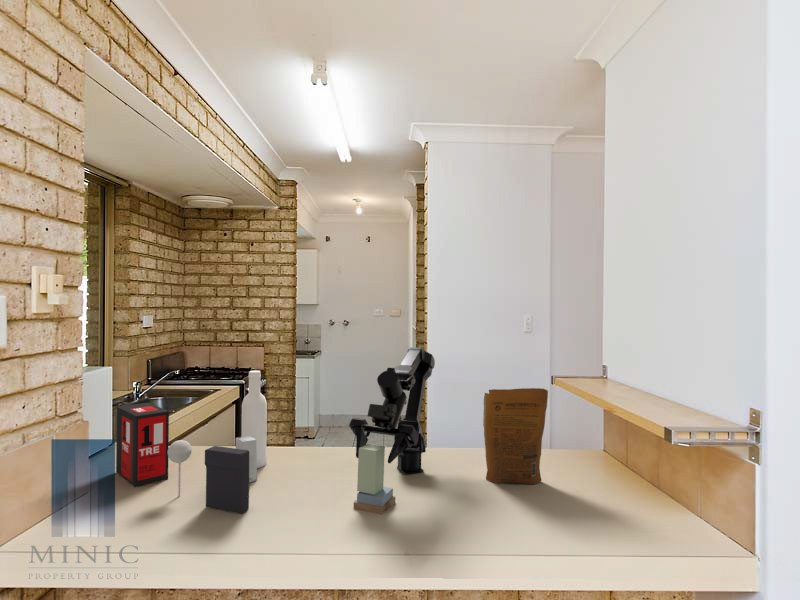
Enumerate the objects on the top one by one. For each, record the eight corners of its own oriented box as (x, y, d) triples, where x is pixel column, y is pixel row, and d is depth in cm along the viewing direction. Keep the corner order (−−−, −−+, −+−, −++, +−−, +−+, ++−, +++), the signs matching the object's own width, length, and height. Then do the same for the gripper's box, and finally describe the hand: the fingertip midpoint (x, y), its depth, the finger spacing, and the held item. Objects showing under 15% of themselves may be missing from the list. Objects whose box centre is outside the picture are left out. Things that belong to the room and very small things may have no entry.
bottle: (271, 462, 160) (272, 370, 160) (258, 470, 153) (259, 373, 153) (249, 459, 162) (250, 369, 162) (235, 467, 155) (236, 372, 155)
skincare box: (257, 480, 144) (258, 439, 144) (242, 484, 141) (243, 441, 141) (249, 474, 149) (249, 434, 149) (234, 477, 146) (235, 437, 146)
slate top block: (368, 492, 132) (368, 484, 132) (392, 496, 130) (392, 488, 130) (357, 502, 126) (357, 493, 126) (382, 506, 123) (382, 497, 123)
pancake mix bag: (549, 487, 141) (551, 390, 141) (483, 485, 142) (484, 388, 142) (544, 479, 148) (545, 386, 148) (480, 476, 149) (481, 384, 149)
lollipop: (196, 494, 133) (197, 439, 133) (178, 502, 128) (179, 444, 128) (180, 490, 136) (180, 436, 136) (161, 498, 130) (162, 441, 130)
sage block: (366, 485, 131) (368, 443, 132) (383, 488, 129) (384, 446, 129) (357, 491, 127) (358, 448, 127) (374, 494, 124) (376, 450, 125)
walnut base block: (368, 499, 133) (368, 491, 133) (395, 504, 130) (395, 496, 130) (353, 510, 126) (353, 502, 126) (381, 516, 122) (381, 507, 122)
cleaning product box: (116, 472, 149) (116, 406, 149) (147, 465, 156) (147, 402, 156) (135, 487, 138) (136, 416, 138) (168, 479, 144) (168, 411, 144)
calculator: (250, 508, 125) (251, 449, 125) (240, 515, 121) (240, 454, 121) (215, 502, 128) (216, 444, 128) (203, 508, 124) (204, 449, 124)
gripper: (352, 388, 135) (329, 438, 125) (414, 394, 127) (395, 449, 117) (366, 411, 142) (345, 460, 132) (426, 418, 134) (409, 471, 124)
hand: (372, 460), depth 126 cm, fingers open, 9 cm apart
